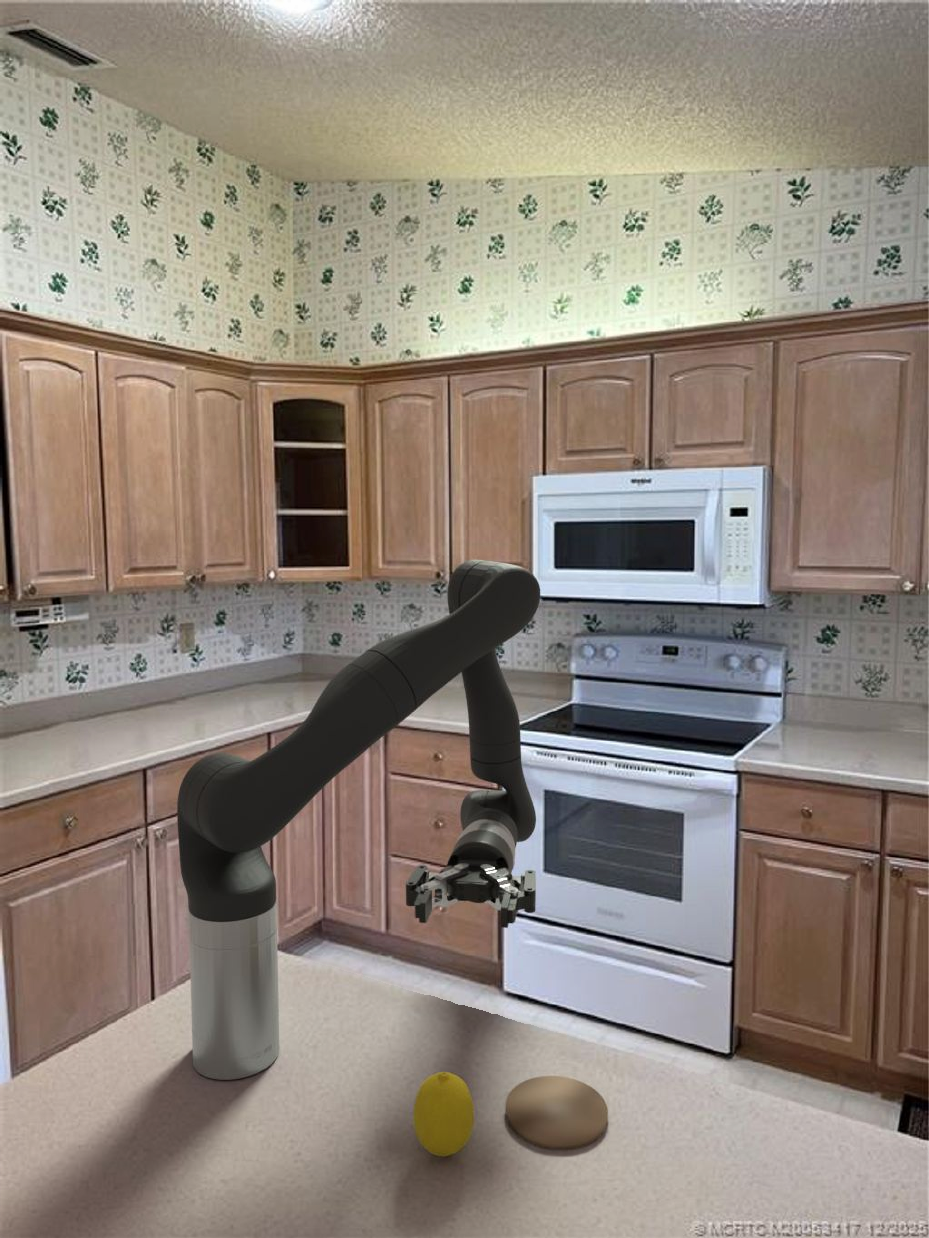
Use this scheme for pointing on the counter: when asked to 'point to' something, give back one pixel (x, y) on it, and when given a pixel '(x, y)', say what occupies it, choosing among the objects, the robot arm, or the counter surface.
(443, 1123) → the lemon
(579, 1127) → the walnut board
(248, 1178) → the counter surface
